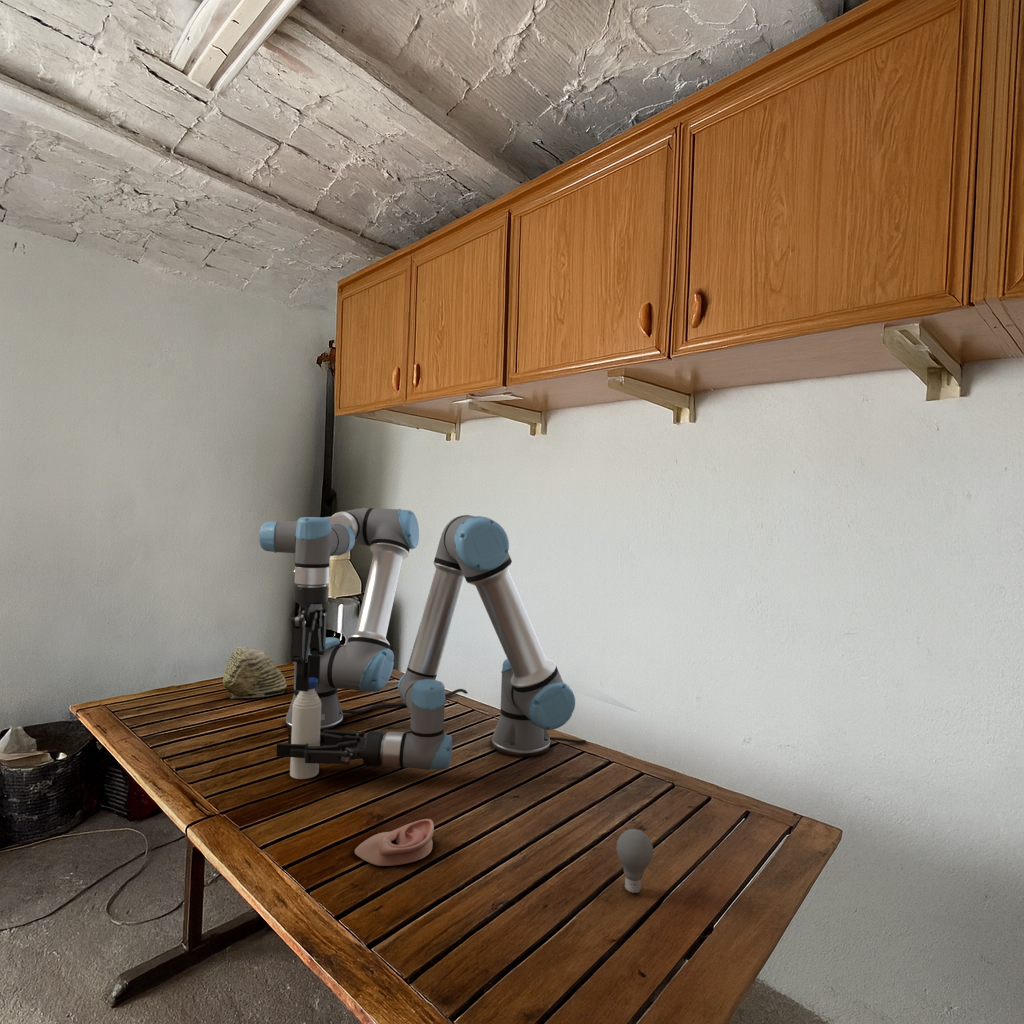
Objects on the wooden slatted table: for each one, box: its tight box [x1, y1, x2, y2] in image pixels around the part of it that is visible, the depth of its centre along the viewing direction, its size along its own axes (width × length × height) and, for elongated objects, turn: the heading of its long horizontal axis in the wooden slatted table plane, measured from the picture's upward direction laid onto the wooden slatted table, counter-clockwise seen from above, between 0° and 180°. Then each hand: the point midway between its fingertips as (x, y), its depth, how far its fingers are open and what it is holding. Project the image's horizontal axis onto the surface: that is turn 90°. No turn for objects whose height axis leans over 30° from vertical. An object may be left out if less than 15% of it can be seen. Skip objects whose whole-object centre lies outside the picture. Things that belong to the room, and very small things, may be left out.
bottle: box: [289, 689, 321, 780], centre depth 144 cm, size 6×6×21 cm
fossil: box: [222, 646, 288, 699], centre depth 198 cm, size 9×18×15 cm, turn 132°
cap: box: [309, 677, 318, 690], centre depth 144 cm, size 4×4×2 cm
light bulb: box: [615, 828, 654, 894], centre depth 106 cm, size 6×6×10 cm
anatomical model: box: [354, 818, 435, 867], centre depth 115 cm, size 13×4×12 cm
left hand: (307, 686), depth 144 cm, fingers open, 5 cm apart
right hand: (283, 743), depth 145 cm, fingers closed on bottle, 6 cm apart
